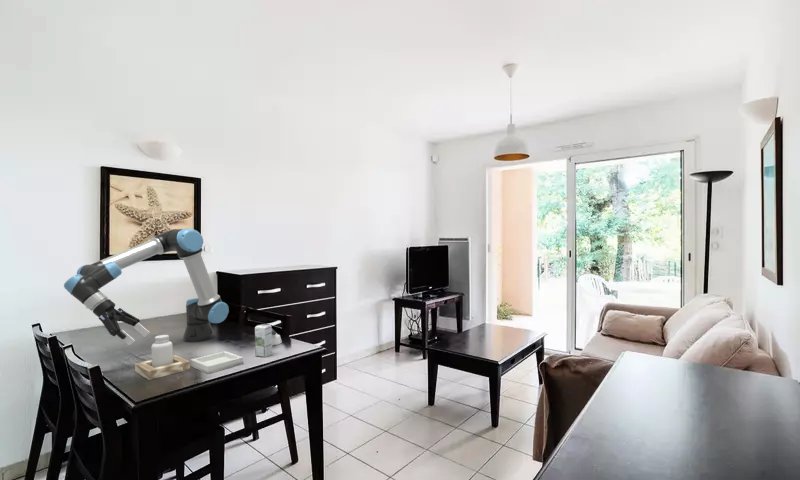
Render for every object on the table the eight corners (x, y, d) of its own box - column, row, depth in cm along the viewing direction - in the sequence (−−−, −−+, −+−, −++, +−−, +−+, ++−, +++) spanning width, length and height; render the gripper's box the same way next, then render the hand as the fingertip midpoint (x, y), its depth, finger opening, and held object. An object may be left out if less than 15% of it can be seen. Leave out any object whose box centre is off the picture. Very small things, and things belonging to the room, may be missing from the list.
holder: (174, 362, 183) (174, 354, 183) (190, 369, 173) (189, 361, 173) (135, 371, 170) (134, 363, 170) (149, 380, 160) (148, 371, 160)
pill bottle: (157, 367, 175) (157, 334, 175) (176, 367, 176) (176, 333, 176) (148, 374, 167) (147, 338, 167) (167, 373, 168) (167, 338, 168)
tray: (225, 357, 189) (225, 351, 189) (243, 363, 179) (243, 357, 179) (190, 366, 177) (190, 359, 177) (207, 373, 167) (207, 366, 167)
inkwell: (282, 340, 219) (281, 322, 219) (280, 349, 201) (280, 329, 201) (264, 341, 217) (264, 323, 216) (261, 350, 199) (261, 331, 199)
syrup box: (272, 354, 194) (272, 324, 193) (264, 357, 188) (264, 327, 188) (262, 353, 196) (262, 323, 195) (254, 356, 190) (254, 326, 190)
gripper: (109, 306, 178) (146, 337, 181) (74, 317, 154) (117, 353, 156) (122, 294, 179) (159, 325, 182) (89, 303, 155) (132, 339, 157)
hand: (140, 338), depth 169 cm, fingers open, 13 cm apart
